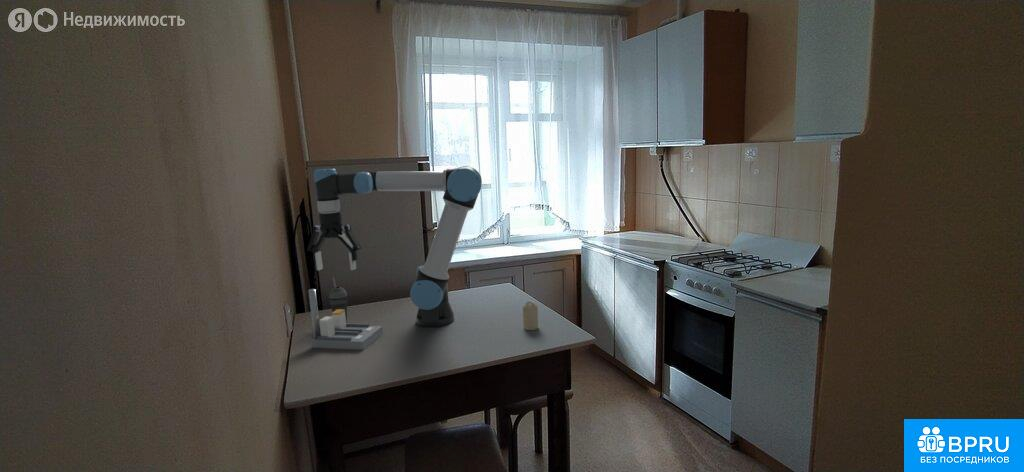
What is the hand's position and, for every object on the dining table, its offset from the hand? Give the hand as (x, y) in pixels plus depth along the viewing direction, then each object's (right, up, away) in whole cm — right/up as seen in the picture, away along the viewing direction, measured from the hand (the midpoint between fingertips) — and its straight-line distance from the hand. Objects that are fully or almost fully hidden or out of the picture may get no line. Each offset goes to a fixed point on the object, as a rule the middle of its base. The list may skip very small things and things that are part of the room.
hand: (336, 269), depth 175 cm
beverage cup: (-5, -24, +20) cm, 31 cm away
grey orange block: (-1, -23, +6) cm, 23 cm away
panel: (+4, -26, +2) cm, 27 cm away
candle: (+72, -23, +6) cm, 75 cm away
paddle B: (-2, -24, -2) cm, 24 cm away
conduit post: (-6, -25, -3) cm, 25 cm away
